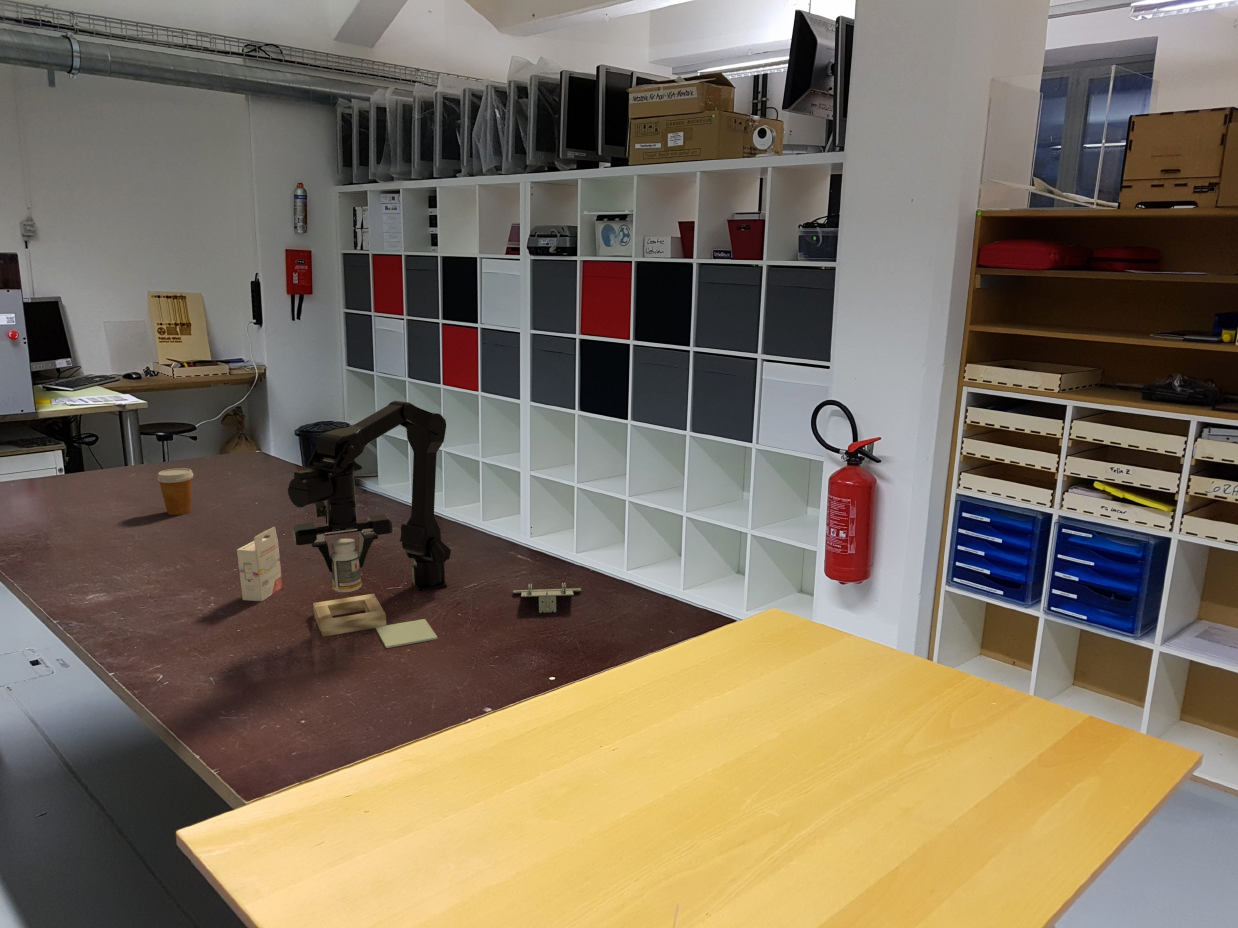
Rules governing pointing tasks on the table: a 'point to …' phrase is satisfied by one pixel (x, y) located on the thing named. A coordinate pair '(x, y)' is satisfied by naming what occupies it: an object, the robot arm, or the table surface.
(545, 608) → the metal bracket
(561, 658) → the table surface
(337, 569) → the pill bottle
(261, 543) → the ink cartridge box
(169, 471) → the disposable coffee cup
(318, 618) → the pocket holder
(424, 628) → the mat
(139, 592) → the table surface
